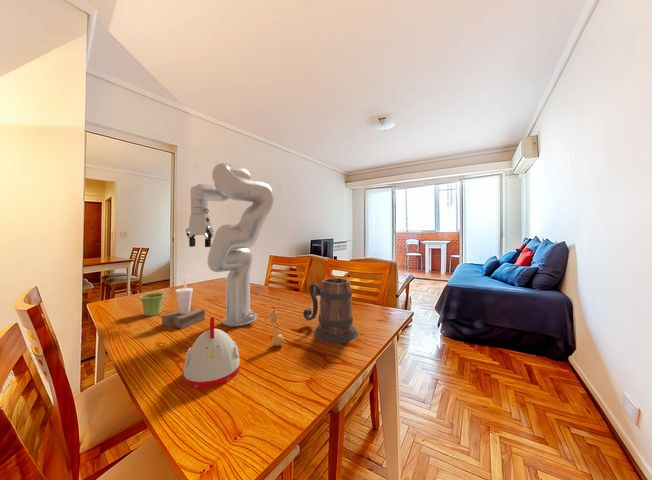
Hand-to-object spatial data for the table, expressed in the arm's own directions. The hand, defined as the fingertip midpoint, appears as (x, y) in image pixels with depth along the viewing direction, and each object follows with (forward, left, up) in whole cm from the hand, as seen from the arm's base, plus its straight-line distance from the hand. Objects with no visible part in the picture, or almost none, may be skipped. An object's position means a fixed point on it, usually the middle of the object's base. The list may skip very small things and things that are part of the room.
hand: (200, 246), depth 124 cm
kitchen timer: (-48, +44, -31) cm, 72 cm away
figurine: (-56, +24, -31) cm, 68 cm away
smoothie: (-9, +18, -26) cm, 33 cm away
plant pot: (+13, +15, -31) cm, 36 cm away
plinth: (-9, +18, -30) cm, 36 cm away
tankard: (-69, +7, -31) cm, 76 cm away
